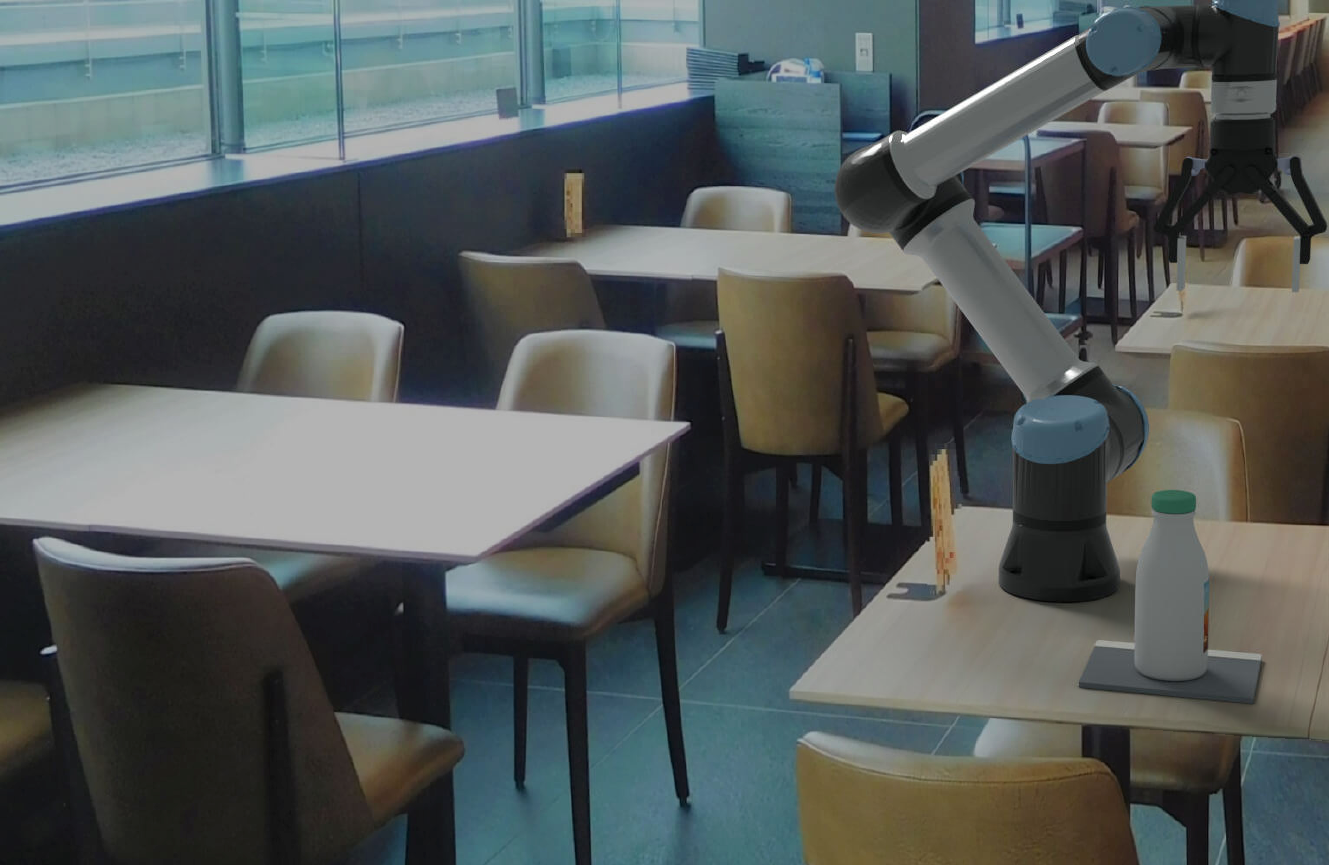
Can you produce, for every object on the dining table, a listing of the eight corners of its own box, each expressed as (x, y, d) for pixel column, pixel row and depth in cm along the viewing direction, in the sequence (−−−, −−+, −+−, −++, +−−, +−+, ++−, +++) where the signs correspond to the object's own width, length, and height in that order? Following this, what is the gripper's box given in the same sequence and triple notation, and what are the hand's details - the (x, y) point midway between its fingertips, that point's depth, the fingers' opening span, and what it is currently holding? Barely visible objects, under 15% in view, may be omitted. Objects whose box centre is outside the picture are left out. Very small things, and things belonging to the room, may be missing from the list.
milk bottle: (1195, 687, 190) (1199, 506, 185) (1124, 676, 194) (1127, 499, 189) (1215, 664, 196) (1220, 489, 192) (1146, 654, 200) (1149, 482, 196)
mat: (1078, 687, 193) (1078, 680, 193) (1097, 645, 205) (1097, 639, 205) (1253, 703, 186) (1253, 697, 186) (1261, 660, 198) (1261, 654, 198)
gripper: (1133, 120, 217) (1130, 292, 222) (1352, 116, 208) (1344, 296, 213) (1141, 116, 224) (1138, 283, 229) (1353, 112, 215) (1345, 286, 220)
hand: (1237, 290), depth 221 cm, fingers open, 13 cm apart
